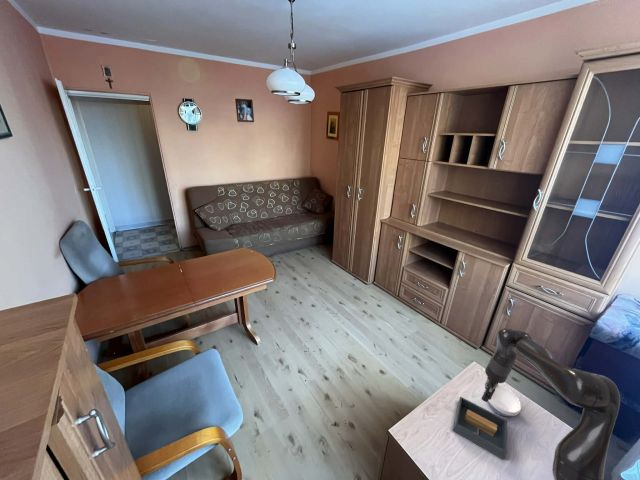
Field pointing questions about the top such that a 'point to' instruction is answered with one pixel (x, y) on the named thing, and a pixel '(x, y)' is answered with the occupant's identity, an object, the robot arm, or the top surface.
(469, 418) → the wooden block
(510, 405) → the bowl
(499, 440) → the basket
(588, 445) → the robot arm
